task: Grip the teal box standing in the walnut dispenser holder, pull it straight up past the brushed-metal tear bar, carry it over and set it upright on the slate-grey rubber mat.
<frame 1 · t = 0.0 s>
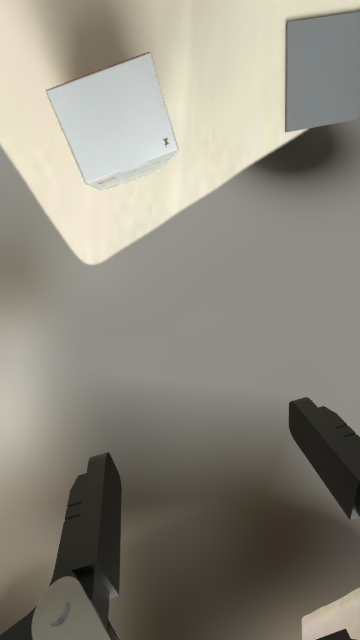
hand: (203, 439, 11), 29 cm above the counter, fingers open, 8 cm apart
mat: (323, 75, 31), on the counter
small box: (121, 152, 31), on the counter
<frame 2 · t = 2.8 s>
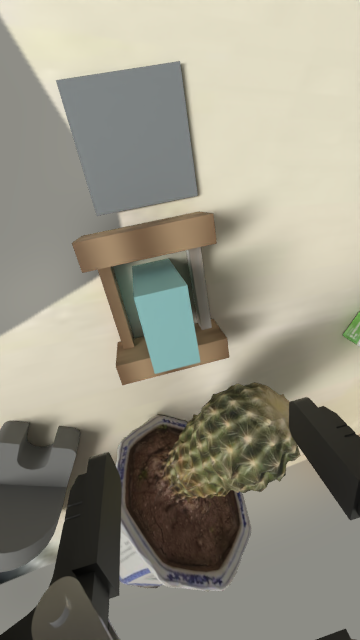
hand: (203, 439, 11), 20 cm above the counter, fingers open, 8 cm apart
bracket: (35, 467, 37), on the counter
teal box: (157, 292, 29), resting in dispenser
mat: (135, 145, 23), on the counter
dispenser: (157, 292, 29), on the counter
potted plant: (179, 418, 38), on the counter
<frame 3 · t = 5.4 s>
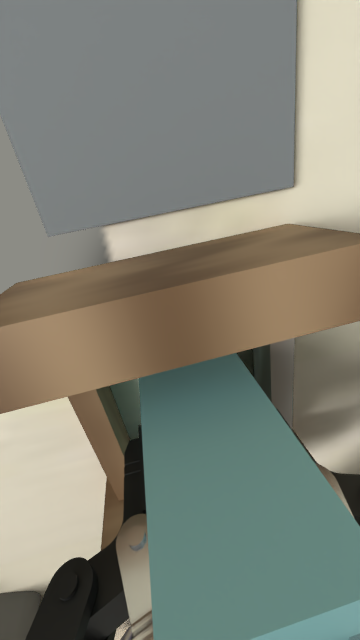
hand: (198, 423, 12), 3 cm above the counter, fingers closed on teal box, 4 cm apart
teal box: (187, 384, 14), resting in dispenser, touching gripper
mat: (145, 45, 8), on the counter
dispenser: (186, 385, 14), on the counter
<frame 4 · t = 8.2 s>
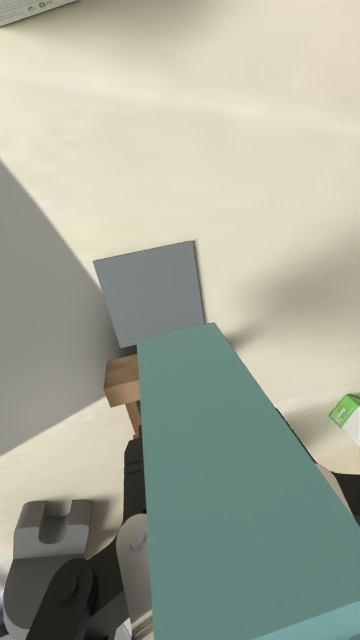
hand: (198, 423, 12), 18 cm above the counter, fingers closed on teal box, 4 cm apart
bracket: (55, 533, 42), on the counter
teal box: (187, 385, 14), point 15 cm above the counter, touching gripper
mat: (153, 296, 28), on the counter
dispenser: (168, 396, 34), on the counter
ink box: (353, 409, 42), on the counter
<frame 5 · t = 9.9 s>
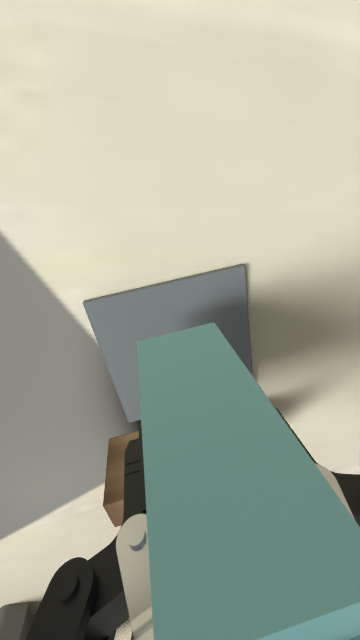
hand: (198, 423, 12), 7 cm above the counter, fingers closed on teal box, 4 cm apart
bracket: (47, 628, 33), on the counter
teal box: (187, 385, 14), point 4 cm above the counter, touching gripper
mat: (179, 349, 18), on the counter
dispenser: (196, 475, 24), on the counter
when the fingers open (4 cm above the counter, at t = 11.1 s): teal box stays where it is, resting on mat.
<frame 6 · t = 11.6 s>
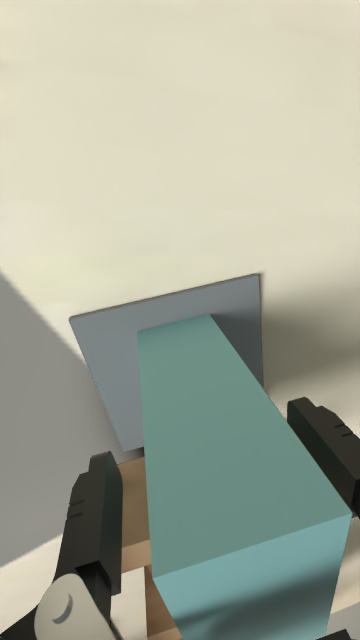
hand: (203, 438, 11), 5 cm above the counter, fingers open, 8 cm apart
teal box: (184, 373, 15), resting on mat
mat: (181, 370, 16), on the counter
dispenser: (198, 504, 22), on the counter
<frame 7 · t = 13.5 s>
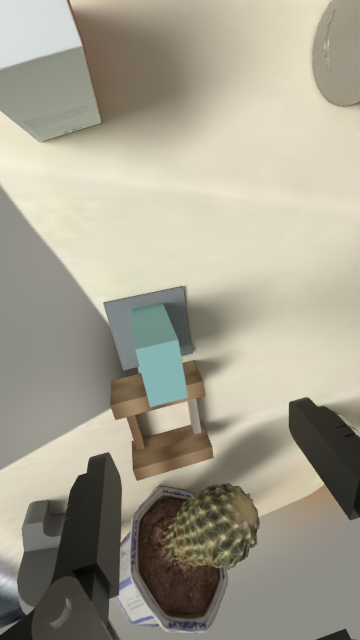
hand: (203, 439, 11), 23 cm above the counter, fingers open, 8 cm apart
bracket: (60, 528, 47), on the counter
teal box: (152, 330, 34), resting on mat
mat: (151, 329, 34), on the counter
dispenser: (162, 409, 40), on the counter
small box: (50, 81, 23), on the counter
potted plant: (175, 487, 49), on the counter
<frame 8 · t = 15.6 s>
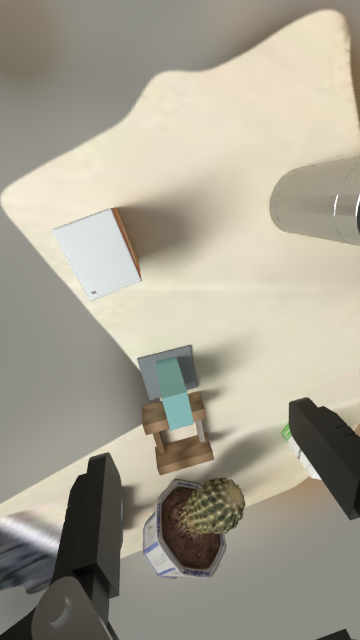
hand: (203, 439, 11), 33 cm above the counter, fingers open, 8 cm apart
teal box: (169, 374, 49), resting on mat
mat: (168, 372, 50), on the counter
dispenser: (176, 424, 56), on the counter
small box: (108, 241, 38), on the counter
ink box: (297, 428, 64), on the counter
potted plant: (187, 480, 65), on the counter
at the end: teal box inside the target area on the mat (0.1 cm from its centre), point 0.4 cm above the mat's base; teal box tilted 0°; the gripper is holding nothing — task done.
